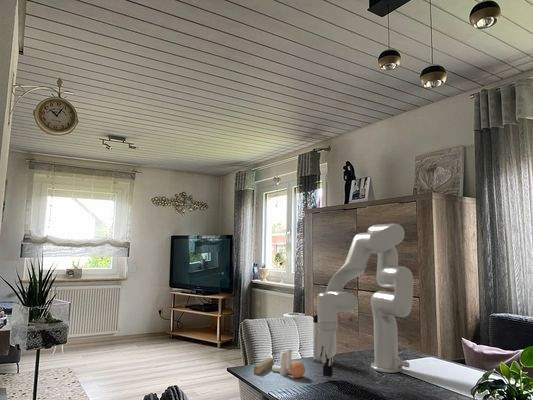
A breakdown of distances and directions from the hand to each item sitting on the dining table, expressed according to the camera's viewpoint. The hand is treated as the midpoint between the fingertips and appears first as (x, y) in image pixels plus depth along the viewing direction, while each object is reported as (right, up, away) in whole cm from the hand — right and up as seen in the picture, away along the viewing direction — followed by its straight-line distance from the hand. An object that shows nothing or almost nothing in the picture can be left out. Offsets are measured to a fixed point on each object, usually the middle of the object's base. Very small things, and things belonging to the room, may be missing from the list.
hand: (327, 375), depth 149 cm
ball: (-11, +1, +3) cm, 12 cm away
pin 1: (-17, -2, +5) cm, 18 cm away
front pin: (-13, -1, +6) cm, 15 cm away
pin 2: (-14, -3, +10) cm, 18 cm away
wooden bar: (-24, -3, +12) cm, 27 cm away
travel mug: (+1, -5, +26) cm, 26 cm away
